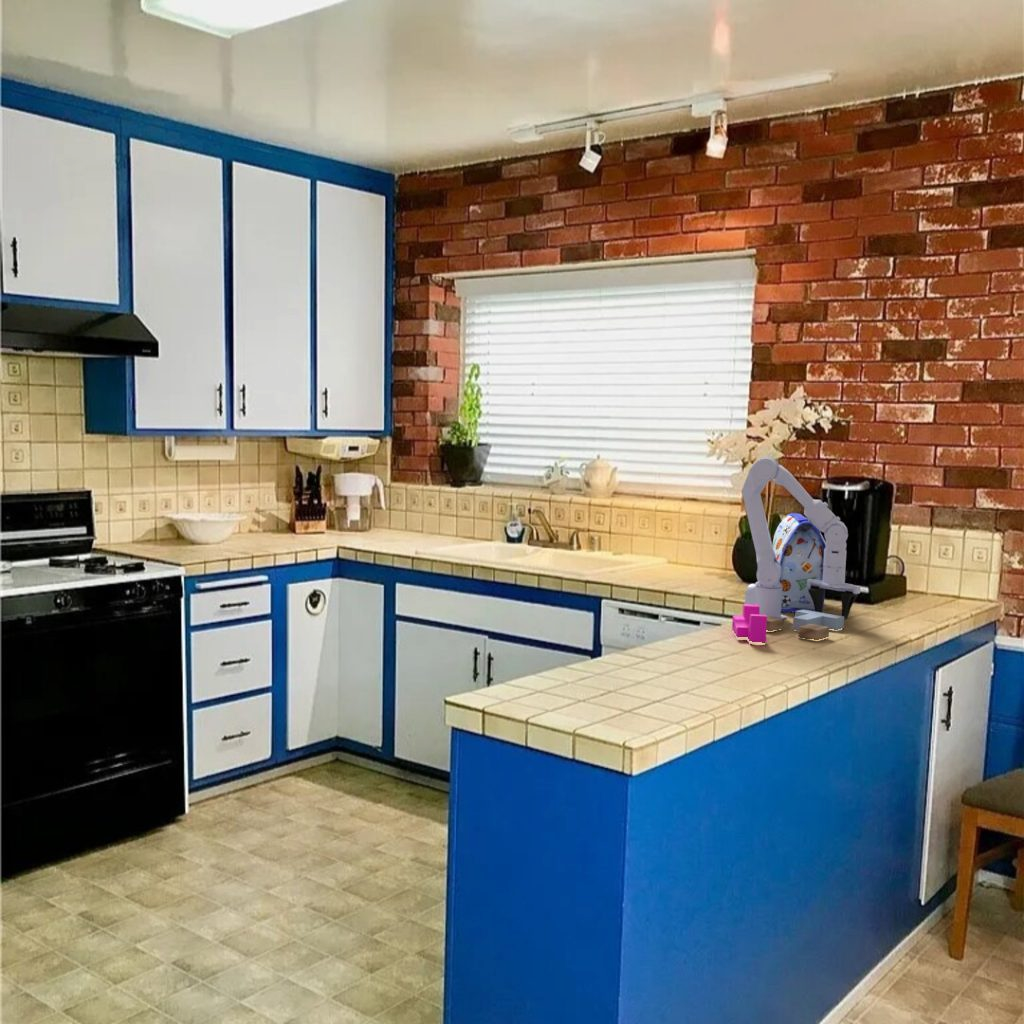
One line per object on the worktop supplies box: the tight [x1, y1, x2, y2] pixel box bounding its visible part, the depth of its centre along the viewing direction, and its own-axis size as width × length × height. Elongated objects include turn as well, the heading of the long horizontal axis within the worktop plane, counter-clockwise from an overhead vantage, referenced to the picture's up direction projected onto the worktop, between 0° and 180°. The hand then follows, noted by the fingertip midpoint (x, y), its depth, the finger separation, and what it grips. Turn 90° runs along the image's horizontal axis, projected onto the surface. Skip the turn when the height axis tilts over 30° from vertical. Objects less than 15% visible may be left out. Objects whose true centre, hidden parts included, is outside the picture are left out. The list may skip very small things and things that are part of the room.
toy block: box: [731, 603, 767, 643], centre depth 258 cm, size 15×6×8 cm, turn 175°
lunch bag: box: [772, 512, 826, 613], centre depth 302 cm, size 23×17×27 cm
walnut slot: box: [766, 615, 830, 640], centre depth 265 cm, size 18×6×3 cm, turn 45°
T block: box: [792, 609, 845, 632], centre depth 272 cm, size 12×12×4 cm
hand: (831, 616), depth 279 cm, fingers open, 7 cm apart
